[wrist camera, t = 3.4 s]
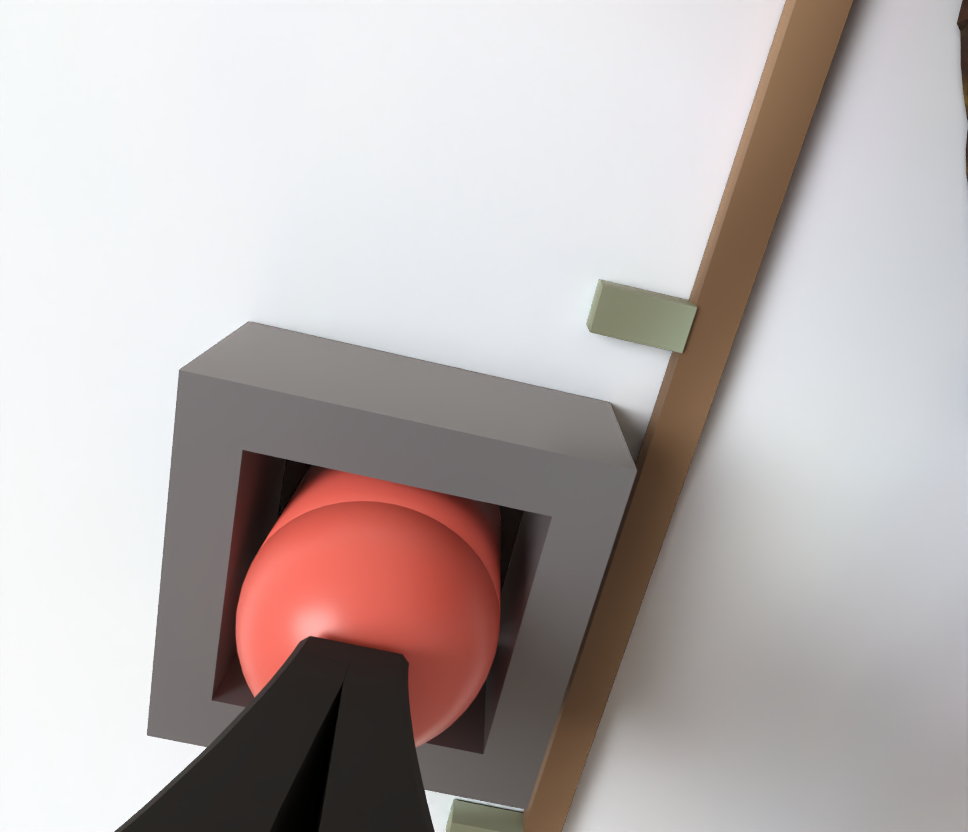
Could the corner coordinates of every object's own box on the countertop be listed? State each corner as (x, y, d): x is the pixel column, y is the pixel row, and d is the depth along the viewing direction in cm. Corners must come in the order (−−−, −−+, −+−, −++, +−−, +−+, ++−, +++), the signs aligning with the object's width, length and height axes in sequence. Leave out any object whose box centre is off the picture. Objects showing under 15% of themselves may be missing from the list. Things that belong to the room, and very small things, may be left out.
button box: (610, 402, 14) (637, 471, 11) (523, 690, 16) (526, 809, 13) (248, 321, 13) (178, 369, 10) (212, 627, 16) (147, 735, 13)
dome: (522, 453, 14) (532, 612, 9) (476, 630, 15) (462, 848, 11) (309, 406, 14) (206, 544, 9) (281, 590, 15) (179, 793, 10)
